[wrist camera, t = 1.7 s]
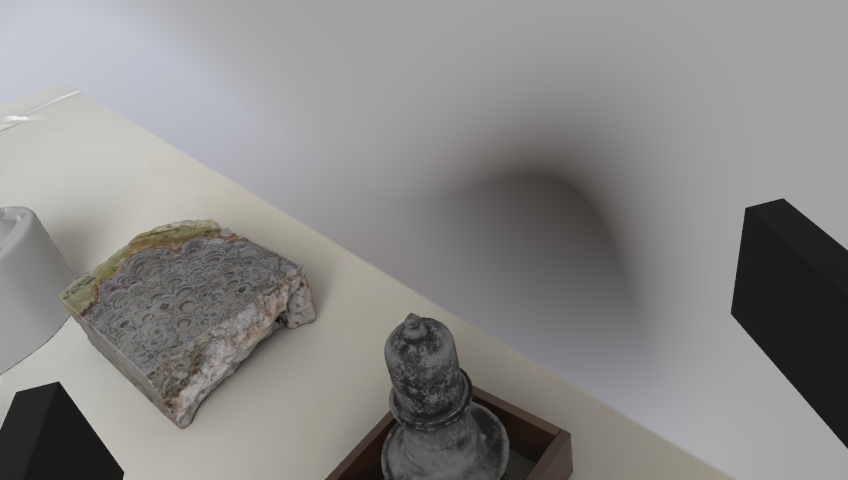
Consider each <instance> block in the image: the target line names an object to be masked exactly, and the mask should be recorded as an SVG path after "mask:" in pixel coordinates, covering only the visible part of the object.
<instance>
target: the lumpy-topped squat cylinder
mask: <svg viewBox="0 0 848 480" xmlns="http://www.w3.org/2000/svg"><path fill="white" fill-rule="evenodd" d="M75 280H77V279H76V278H75V276H74V275H73V273H72V271H71V270H70V268H69V267H68V265H67V263H66V262H65V260H64V258H63V257H62V255H61V254H60V252H59V250H58V249H57V247H56V246H55V244H54V243H53V241H52V239H51V238H50V236H49V235H48V233H47V232H46V230H45V228H44V227H43V225H42V224H41V222H40V221H39V219H38V217H37V216H36V214H35V213H34V212H33V211H32V210H30V209H28V208H25V207H4V208H0V374H2V373H3V372H5V371H6V370H8V369H9V368H11V367H12V366H14V365H15V364H17V363H18V362H20V361H21V360H23V359H24V358H25V357H27V356H28V355H30V354H31V353H33V352H34V351H35V350H37V349H38V348H39V347H41V346H42V345H43V344H44V343H46V342H47V341H48V340H49V339H50V338H51V337H52V336H53V335H54V334H55V333H56V332H57V331H58V330H59V328H60V327H61V326H62V325H63V324H64V322H65V321H66V320H67V319H68V317H69V316H70V315H71V314H70V312H69V311H68V310H67V309H66V308H65V306H64V305H63V303H62V302H61V300H60V298H59V296H58V295H59V294H60V293H61V292H62V291H64V290H65V289H66V288H68V287H69V286H70V285H71V284H72V283H73V282H74V281H75Z"/></svg>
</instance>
